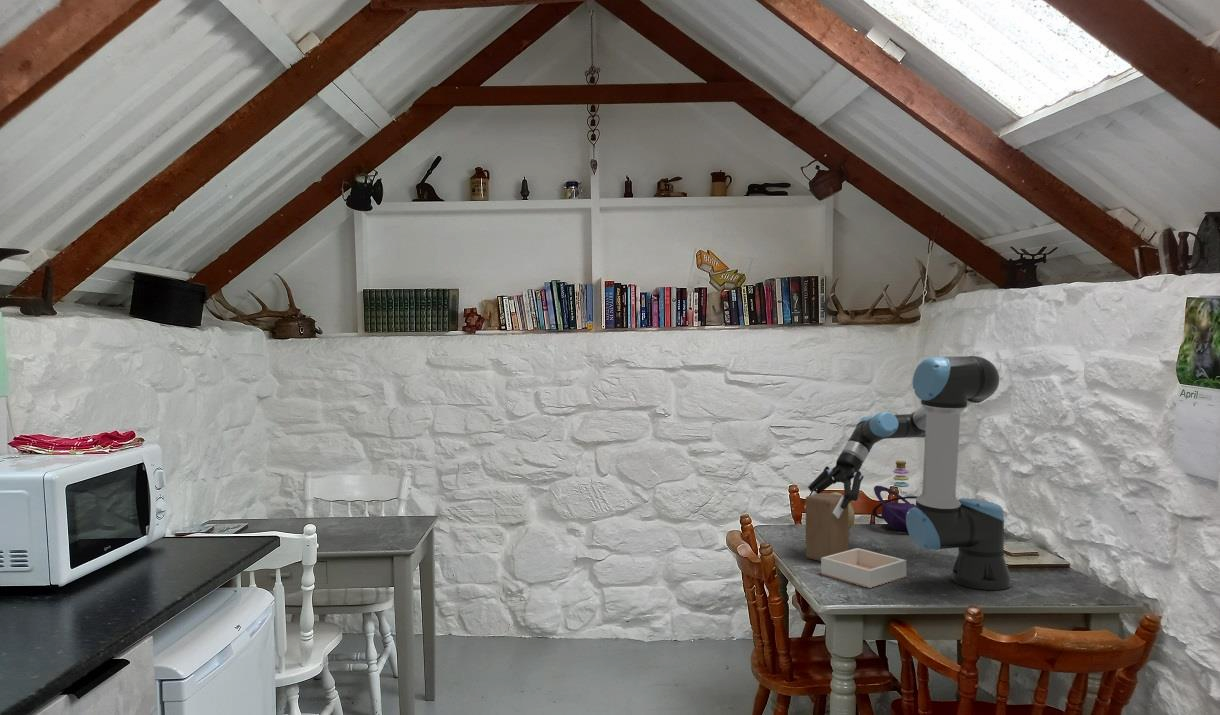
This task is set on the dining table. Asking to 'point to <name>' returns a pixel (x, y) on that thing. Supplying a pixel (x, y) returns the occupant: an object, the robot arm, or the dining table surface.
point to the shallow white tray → (863, 567)
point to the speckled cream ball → (850, 511)
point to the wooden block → (825, 526)
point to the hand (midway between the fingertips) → (820, 512)
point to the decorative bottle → (894, 511)
